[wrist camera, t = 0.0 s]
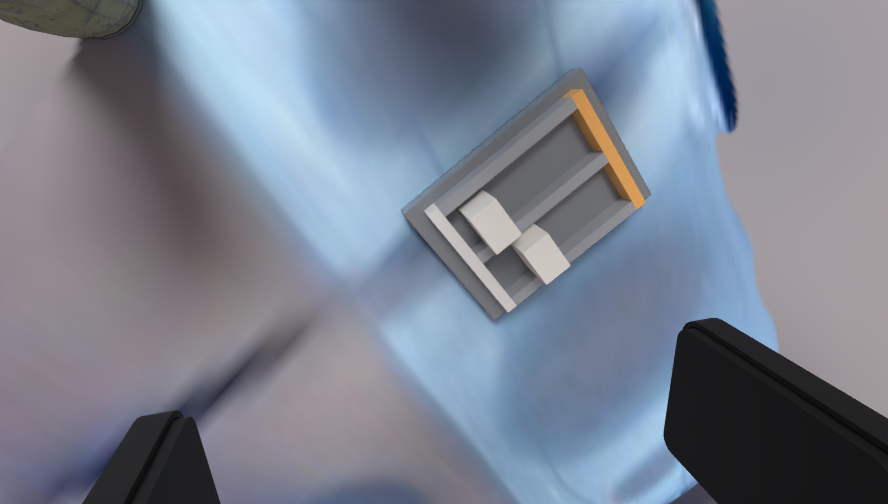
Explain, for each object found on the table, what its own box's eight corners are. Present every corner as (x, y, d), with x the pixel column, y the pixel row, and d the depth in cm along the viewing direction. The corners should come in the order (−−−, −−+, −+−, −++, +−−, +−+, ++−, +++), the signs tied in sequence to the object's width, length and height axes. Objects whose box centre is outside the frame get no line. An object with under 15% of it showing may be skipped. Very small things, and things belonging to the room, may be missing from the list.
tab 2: (527, 267, 48) (546, 285, 44) (505, 238, 46) (522, 253, 42) (549, 249, 48) (570, 265, 43) (528, 219, 46) (548, 233, 42)
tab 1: (481, 239, 46) (496, 254, 41) (456, 207, 44) (469, 220, 40) (504, 220, 46) (522, 234, 41) (480, 188, 44) (495, 198, 39)
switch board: (488, 312, 51) (500, 329, 48) (400, 209, 45) (406, 220, 42) (640, 191, 50) (663, 198, 47) (571, 69, 44) (592, 66, 41)
